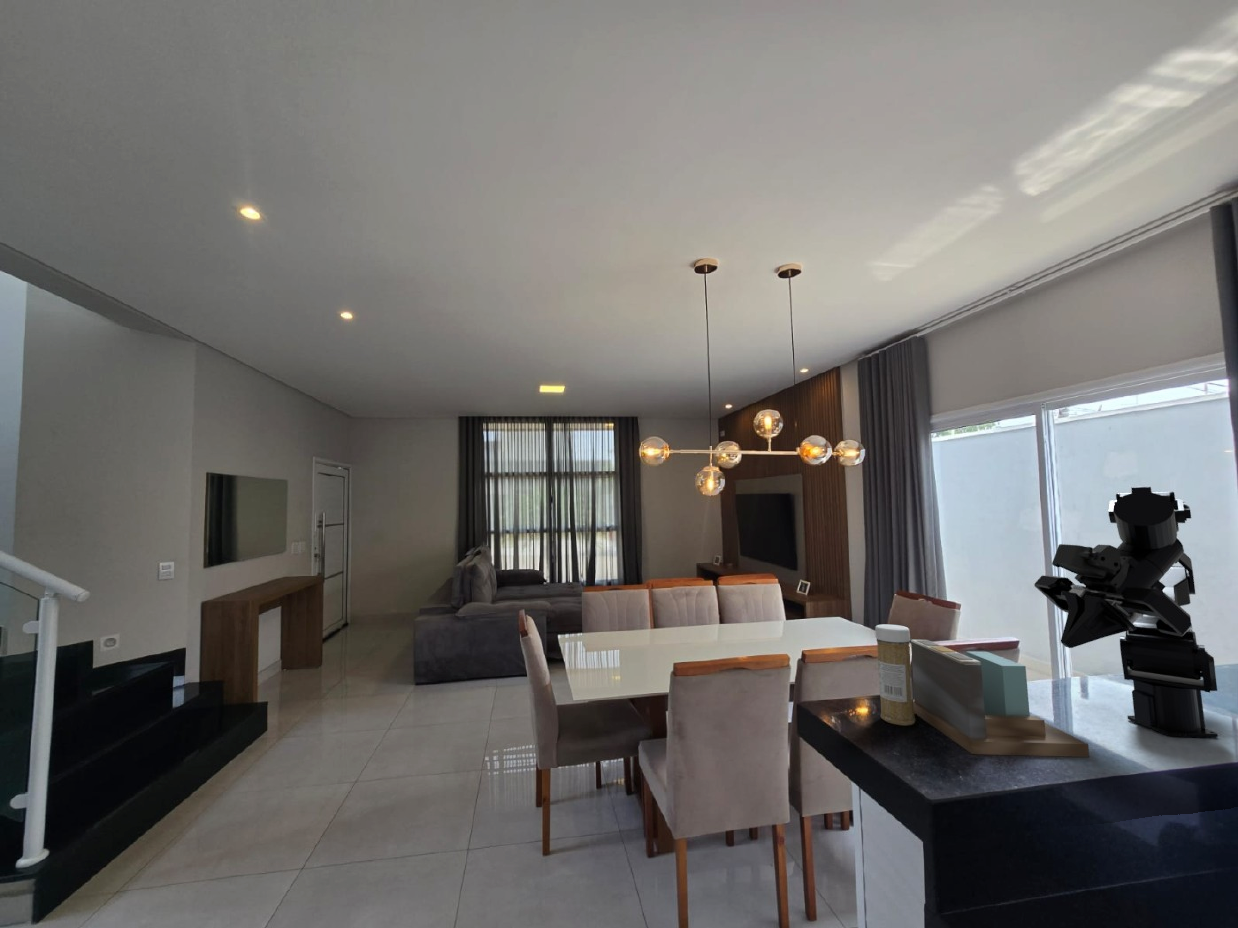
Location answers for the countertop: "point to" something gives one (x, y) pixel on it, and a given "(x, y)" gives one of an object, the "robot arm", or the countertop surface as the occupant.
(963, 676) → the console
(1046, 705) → the countertop surface
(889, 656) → the sprinkles bottle
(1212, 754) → the countertop surface
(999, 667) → the paddle button
